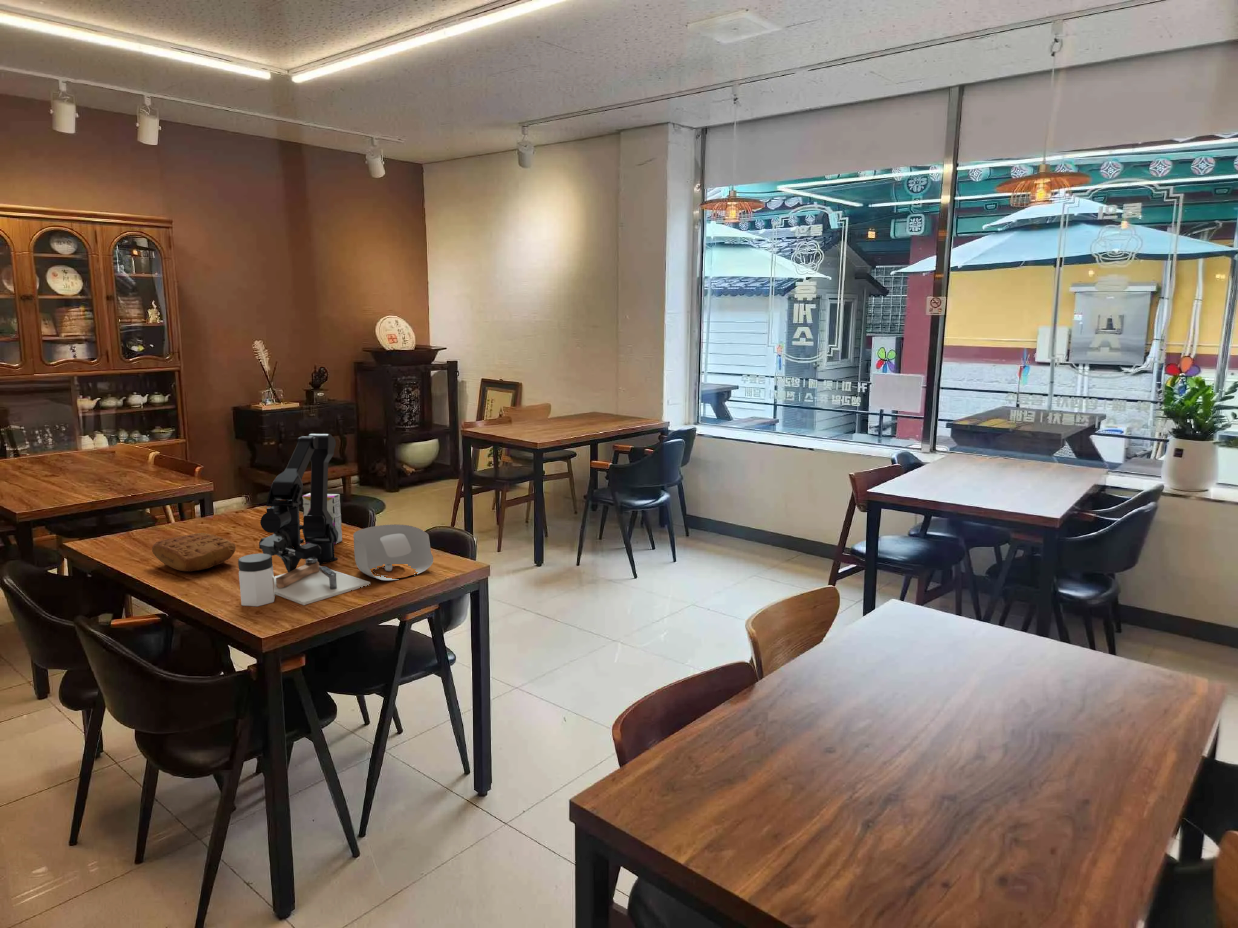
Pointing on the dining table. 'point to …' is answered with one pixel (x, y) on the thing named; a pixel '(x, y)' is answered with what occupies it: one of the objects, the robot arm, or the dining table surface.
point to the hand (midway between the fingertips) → (291, 575)
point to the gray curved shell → (392, 548)
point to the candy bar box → (332, 508)
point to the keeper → (325, 572)
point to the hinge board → (318, 587)
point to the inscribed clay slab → (193, 551)
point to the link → (296, 574)
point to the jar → (256, 579)
